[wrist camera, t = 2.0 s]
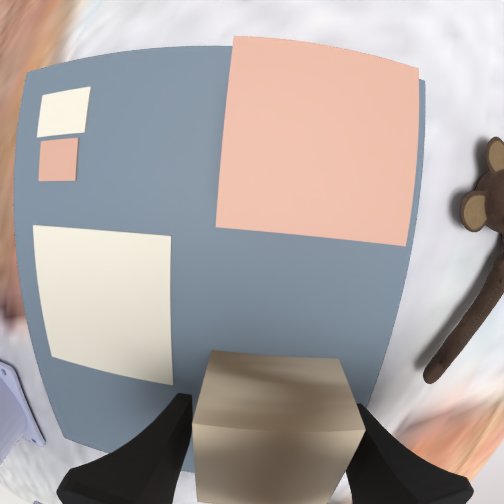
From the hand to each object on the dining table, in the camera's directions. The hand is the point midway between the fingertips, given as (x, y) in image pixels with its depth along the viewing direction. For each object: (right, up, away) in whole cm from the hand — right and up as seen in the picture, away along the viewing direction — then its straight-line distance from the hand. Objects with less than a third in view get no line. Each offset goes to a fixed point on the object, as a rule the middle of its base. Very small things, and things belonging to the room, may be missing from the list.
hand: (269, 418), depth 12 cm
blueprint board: (-4, +5, +1) cm, 6 cm away
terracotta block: (+1, +11, -2) cm, 11 cm away
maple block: (0, 0, +1) cm, 1 cm away
